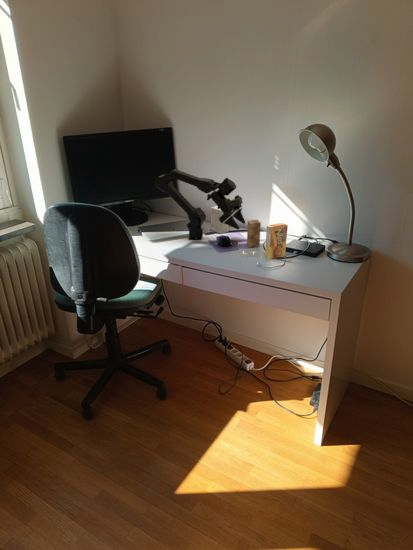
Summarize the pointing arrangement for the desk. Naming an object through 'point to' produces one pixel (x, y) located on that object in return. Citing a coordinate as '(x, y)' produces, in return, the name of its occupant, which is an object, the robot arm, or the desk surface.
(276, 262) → the desk surface
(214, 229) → the small box
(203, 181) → the robot arm
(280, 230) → the candy box
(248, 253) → the grey flat square plate
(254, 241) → the walnut block
